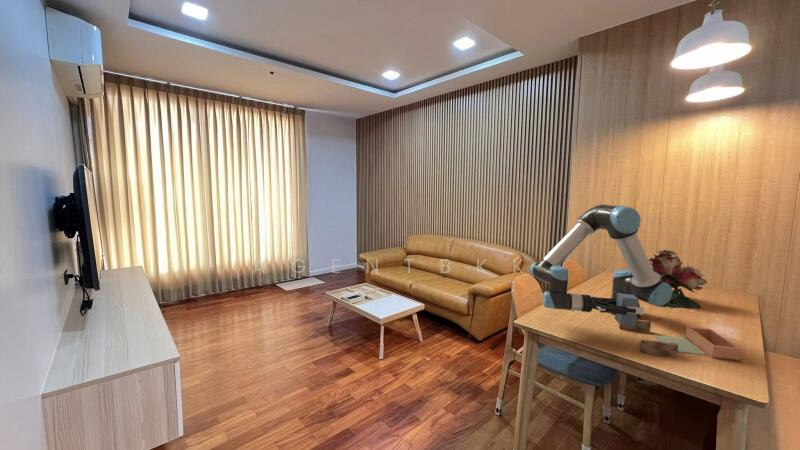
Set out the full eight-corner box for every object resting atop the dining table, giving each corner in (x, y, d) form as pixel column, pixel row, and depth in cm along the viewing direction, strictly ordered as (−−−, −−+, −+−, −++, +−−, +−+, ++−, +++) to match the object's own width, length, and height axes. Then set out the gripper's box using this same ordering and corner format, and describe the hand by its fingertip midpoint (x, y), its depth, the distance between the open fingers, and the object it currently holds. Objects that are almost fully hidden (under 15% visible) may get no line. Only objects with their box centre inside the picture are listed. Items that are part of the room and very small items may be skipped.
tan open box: (709, 340, 142) (711, 329, 142) (740, 361, 125) (741, 349, 125) (685, 337, 145) (686, 326, 144) (711, 358, 128) (713, 346, 127)
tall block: (630, 320, 144) (632, 294, 142) (636, 326, 138) (638, 298, 137) (614, 318, 145) (617, 293, 144) (619, 324, 140) (622, 297, 138)
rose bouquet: (711, 308, 180) (718, 255, 176) (658, 308, 180) (664, 255, 176) (672, 292, 205) (678, 246, 201) (626, 292, 205) (631, 246, 201)
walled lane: (648, 331, 151) (649, 320, 150) (676, 357, 128) (678, 345, 127) (618, 328, 154) (619, 317, 154) (641, 353, 131) (642, 341, 131)
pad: (685, 339, 143) (685, 338, 143) (705, 355, 130) (705, 354, 130) (653, 335, 146) (653, 335, 146) (670, 351, 133) (670, 350, 133)
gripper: (574, 303, 155) (630, 308, 149) (586, 319, 137) (649, 325, 131) (576, 288, 154) (632, 292, 148) (587, 302, 136) (651, 307, 130)
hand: (640, 308), depth 139 cm, fingers closed on tall block, 6 cm apart
